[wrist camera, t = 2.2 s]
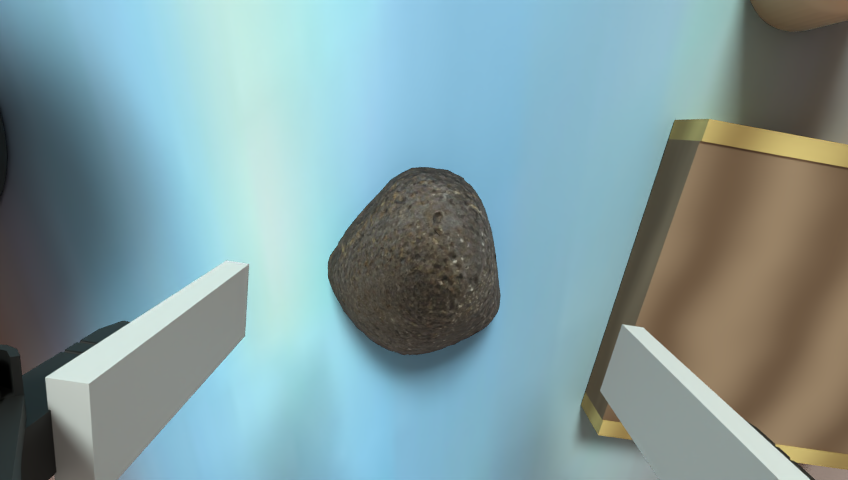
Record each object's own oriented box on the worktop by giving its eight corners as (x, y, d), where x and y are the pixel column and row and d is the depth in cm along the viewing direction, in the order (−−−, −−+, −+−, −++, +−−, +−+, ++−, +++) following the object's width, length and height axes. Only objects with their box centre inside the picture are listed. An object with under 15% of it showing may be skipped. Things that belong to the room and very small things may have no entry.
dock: (580, 405, 26) (598, 435, 23) (675, 119, 21) (709, 119, 18) (811, 437, 27) (851, 470, 24) (952, 171, 22) (1022, 176, 19)
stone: (420, 314, 28) (552, 345, 21) (313, 356, 22) (448, 418, 15) (408, 174, 27) (545, 158, 20) (292, 179, 21) (427, 158, 14)
